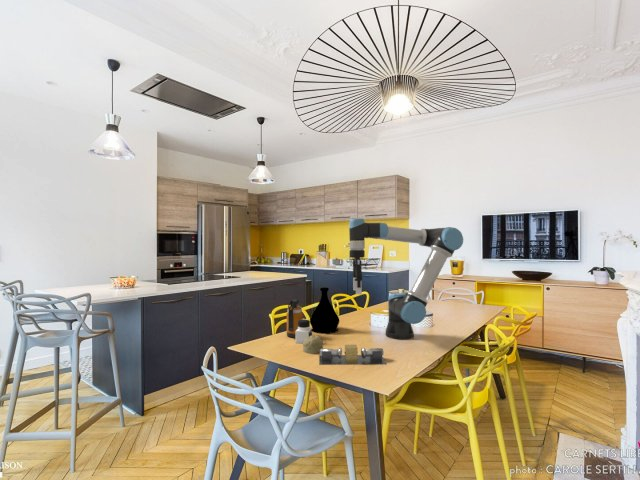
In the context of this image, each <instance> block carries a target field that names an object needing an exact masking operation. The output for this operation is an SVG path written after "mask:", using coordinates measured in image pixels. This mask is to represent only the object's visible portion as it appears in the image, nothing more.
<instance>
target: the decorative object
mask: <svg viewBox="0 0 640 480" xmlns="http://www.w3.org/2000/svg"><path fill="white" fill-rule="evenodd" d="M323 343H324V341H323V340H322V339H321V337H320V336H319V335H314V334H312V336H310V337H308V338H306V339H305V341H304V343H303V344H302V352H304V353H306V354H309V355H310V354H320V349H324V344H323Z"/></svg>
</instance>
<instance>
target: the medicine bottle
mask: <svg viewBox="0 0 640 480" xmlns="http://www.w3.org/2000/svg"><path fill="white" fill-rule="evenodd" d="M310 325H311V324H310V319H307V318H303V319H301V320H299V321H298V329H297V330H296V331H295V337H294V338H295V344H299V345H301V344H302V345H303V343H304V341H305V339H306V338H308V337H310V336H313V332H312V327H311V326H310Z"/></svg>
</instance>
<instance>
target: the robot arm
mask: <svg viewBox="0 0 640 480" xmlns="http://www.w3.org/2000/svg"><path fill="white" fill-rule="evenodd" d="M348 224H349V228H348V230H349V242H348V246H349V249H350V250H349V253H348V254H349V258H351V259H352V277H353V278H352V283H353V284H352V288H353V289H352V290H353V291H355V295H362V294H363V293H362V291H363V290H362V286H363V285H362V280H363V276H362V273H363V270H362V260H361V259H363V258H365V257H366V255H365V251H366V250H364V249H365V248H366V247H365V246H366V242H365V240H366V239H375V240H384V241H393V242H401V243H402V242H403V243H409V244H410V243H411V244H418V245H419V246H421V247H428V248H430V249H431V251H430V253H429V255H428V257H427V259H426V261H425V263H424V265H423V266H422V269H421V270H420V273H419V275H418V276H417V278H416V280H415V282H414V284H413V286H412V287H411V289H410V290H409V291H406V293H391V294H389V295H388V300H387V302H388V322H387V325H386V328H385V336H386V337H387V338H390V339H395V340H410V339H413V338H414V335H415V333H414V329H413V327H412V325H416V324H419V323H421V322H423V320H425V318H426V316H427V309H426V307H427V304H428V301H427V298H428V296H429V294H430V292H431V290H432V288H433V287H434V285H435V283H436V281H437V278H438V277H439V275H440V272H441V271H442V269H443V267H444V265H445V263H446V262H447V259H449V258H452V257H453V255H454V253H455V252H456V251H457V250H459V249H460V248H461V247H462V246H463V243H464V236H463V234H462V232H461V230H459V229H458V228H457V227H452V226H448V227H436V228H435V227H434V228H421V229H414V228H413V229H412V228H407V227H406V228H405V227H397V226H390V225H388V224H387V223H386V222H366V221H365V219H364V218H350V220H349V223H348Z"/></svg>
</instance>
